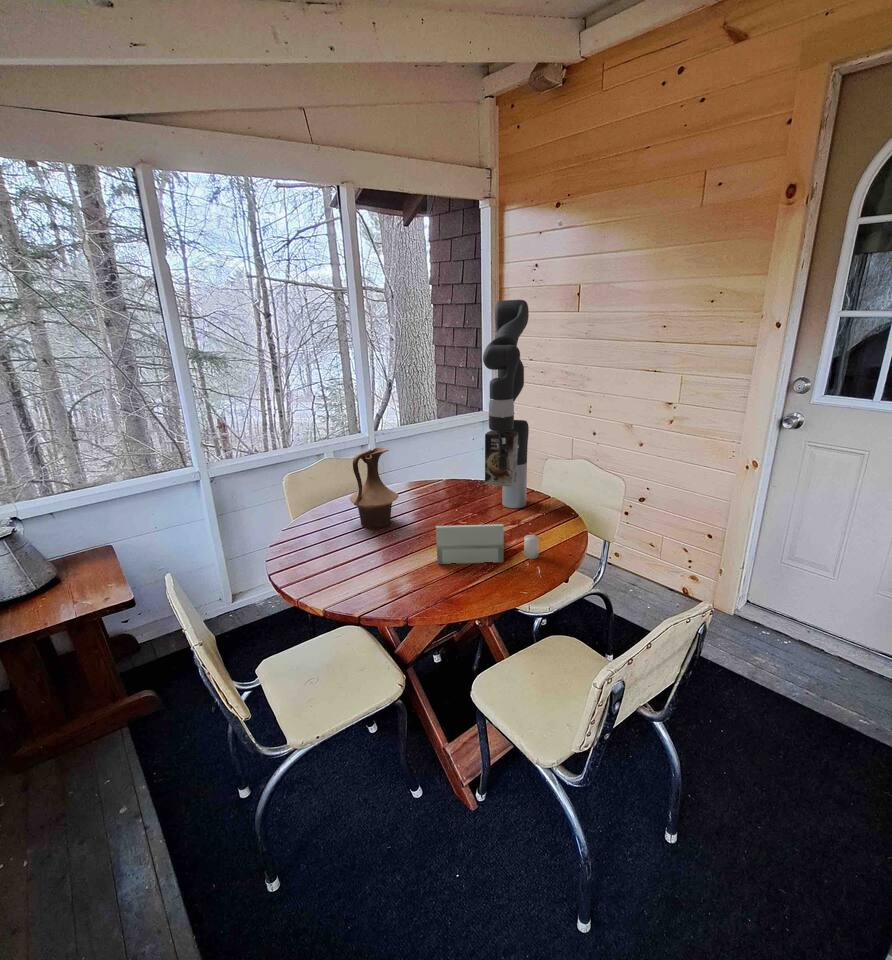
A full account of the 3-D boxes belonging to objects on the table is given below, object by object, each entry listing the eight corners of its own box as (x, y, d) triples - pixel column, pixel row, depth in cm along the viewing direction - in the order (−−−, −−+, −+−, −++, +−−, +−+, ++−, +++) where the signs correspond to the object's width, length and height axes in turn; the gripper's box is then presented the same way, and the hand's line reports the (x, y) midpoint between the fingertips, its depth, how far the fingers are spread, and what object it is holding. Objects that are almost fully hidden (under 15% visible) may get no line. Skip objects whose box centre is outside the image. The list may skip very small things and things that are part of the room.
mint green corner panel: (438, 543, 169) (436, 509, 165) (499, 542, 168) (499, 508, 165) (437, 564, 155) (435, 527, 152) (503, 562, 155) (503, 525, 151)
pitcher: (375, 537, 174) (368, 458, 165) (341, 526, 184) (333, 451, 175) (409, 520, 188) (404, 446, 179) (375, 511, 198) (370, 440, 189)
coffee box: (484, 484, 160) (483, 434, 155) (490, 478, 165) (489, 429, 160) (512, 487, 156) (513, 436, 151) (517, 481, 162) (518, 431, 157)
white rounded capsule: (523, 552, 161) (523, 534, 159) (537, 551, 161) (537, 534, 159) (525, 558, 157) (525, 541, 155) (539, 558, 157) (540, 540, 155)
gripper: (486, 409, 161) (486, 459, 166) (491, 418, 147) (491, 472, 152) (510, 408, 161) (510, 458, 166) (517, 417, 147) (516, 471, 152)
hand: (501, 465), depth 159 cm, fingers closed on coffee box, 8 cm apart
